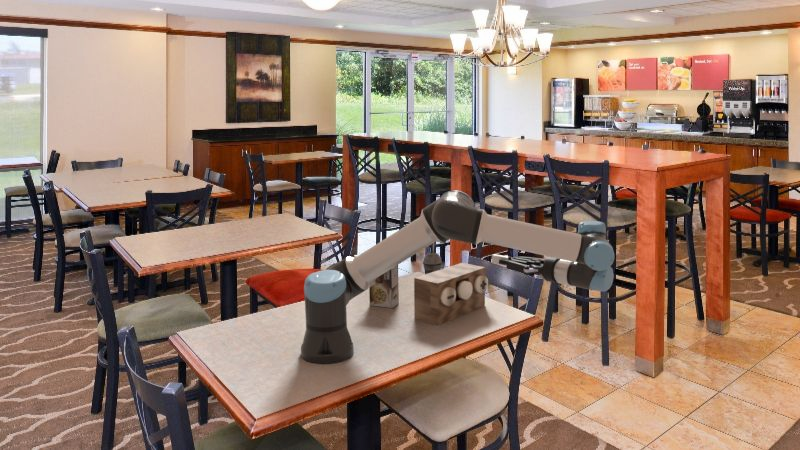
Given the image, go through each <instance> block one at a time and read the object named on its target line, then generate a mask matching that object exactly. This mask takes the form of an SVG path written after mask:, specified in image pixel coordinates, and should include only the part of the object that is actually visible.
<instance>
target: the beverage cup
mask: <svg viewBox="0 0 800 450" xmlns="http://www.w3.org/2000/svg"><path fill="white" fill-rule="evenodd" d="M422 260H423V262H422V264H423V268H424V275H425V274H428V273H431V272H434V271H438V270H441V269H442V267H443V265H442V264H443V261H442V257H441V256H440V254H438V252H435V242H434V243H432V251H430V252H427V253H426V254H425V255H424V257H423V259H422Z"/></svg>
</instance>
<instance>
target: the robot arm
mask: <svg viewBox="0 0 800 450" xmlns="http://www.w3.org/2000/svg"><path fill="white" fill-rule="evenodd" d="M577 228H578V229H577V232H571V231H567V230H563V229H562V230H561V229H557V228H553V227H548V226H544V225H539V224H534V223H529V222H524V221H521V220H515V219H512V218H507V217H501V216H497V215H492V214H488V213H487V211H486V210H485V209H483V208H478V207H476V205H475V202H474V201H473V199H472V197H470V196H469V195H468V194H467V193H465V191H464V192H463V191H461V190H449V191H446V192H444V193H443V194H442V195H440V197H439V198H438V199H436V200H434V201H433V202H432V203H430V204H429V205H427V206H426V207H424V208H422V209H421V213H420V216H419V217H418V218H416V219H414V220H413V221H411V222H410V223H408V224H406V225H405V226H403V227H401V228H400V229H399V230H397V231H395V232H394V233H392V234H390V235H389V236H388V237H386V238H384V239H382V240H381V241H379V242H378V243H376V244H375V245H373V246H371V247H370V248H368V249H367V250H365V251H364V252H362V253H360V254H358V255H357V256H355V257H354V256H350V255H349V256H346V257H344V258H343V259H342V260H339V261H338V262H335V263H332V264H330V265H329V266H328V267H326V268H325V269H323V270H322V269H321V270H317V271H314V272H311V273H310V274H308V276H307V275H306V276H307V277H306V278H305V280H304V286H303V293H304V309H305V310H304V311H305V332H304V336H303V341H302V343H301V346H300V355H301V356H300V357H301V358H302V359H303V360H305V361H307V362H309V363H314V364H333V363H334V364H335V363H339V362H344V361H346V360H347V359H349V358H351V357H352V356H353V355H354V353H355V352H354V351H355V350H354V349H355V348H354V343H353V341H352V337H351V335H350V332H349V330H348V321H347V316H348V315H347V306H348V304H349V303H350V301H351V300H352V299H354V298H355V297H357V296H359V295H361V294H362V293H364V292H365V291H367V290H369V284H370V282H371V281H372V280H374V279H375V278H377V277H379V276H380V275H382V274H384V273H385V272H387V271H388V270H390V269H392V268H393V267H395V266H397V265H398V266H399V265H400V264H402V263H403V262H405V261H406V260H408V259H410V258H411V257H413V256H414V255H416V254H418V253H420V252H422V251H423V250H424V249H426V248H428V247H429V246H431V245H433V243H434V244H435V243H440V244H443V243H446V242H447V241H449V240H452V241H457V242H461V243H468V244H471V245H478V244H479V243H485V244H489V245H495V246H501V247H503V248H510V249H513V250H518V251H523V252H527V253H532V254H536V255H541V256H545V257H546V258H541V257H531V256H520V255H519V256H513V257H512V256H511V255H510V256H509V255H508V256H507V255H501V254H497V253H494V254H491V264H493V265H494V264H495V265H500V266H505V267H506V269H507V270H511V271H514V272H518V273H520V274H523V275H524V276H525V275H526V276H529V275H530V274H534V275H535V276H539V275H541V277H543V280H545V281H546V282H549V283H555V284H561V285H564V286H566V287H568V288H569V287H570V286H572V287H575V288H580V289H581V288H582V289H585V290H590V291H596V292H607V291H608V290H610V289H611V287H612V286H613V282H614V277H615V276H614V269H613V267H612V265H613V263H614V261H615V252H614V248H613V246H612V245H611V243H610V242H609V241H608V240H607V238H606V237H607V236H606V235H607V231H606V230H607V229H606V223H604V222H603V221H598V220H584V221H581V222H579V223H578V227H577Z"/></svg>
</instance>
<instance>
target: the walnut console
mask: <svg viewBox="0 0 800 450" xmlns="http://www.w3.org/2000/svg"><path fill="white" fill-rule="evenodd" d="M413 279H414V280H413V288H414V290H413V291H414V292H413V293H414V294H413V295H414V299H413V300H414V303H413V304H414V309H413V310H414V317H413V318H414V319H416V320H418V321H422V322H425V323H429V324H432V325H436V326H439V325H441V324H444V323H447V322H449V321H451V320H453V319H456V318H458V317H461V316H464V315H467V314H468V313H470V312H473V311H476V310H478V309H481V308H483V307H485V305H486V291H487V290H488V286H489V279H488V277H487V276H486V267H485V266H481V265H475V264H471V263H466V262H460V263H456V264H455V265H451V266H447V267H444V268H441V270H438V271H434V272H431V273H428V274H425V273H424V274H422V275H420V276H416V277H414V278H413ZM461 281H468V282H470V283H471V284H472V287H473V290H472V294H471V296H470V297H469V298H468V299H466V300H465V299H461V298H459V297H458V295H457V287H458V285H459V283H460V282H461Z"/></svg>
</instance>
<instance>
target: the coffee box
mask: <svg viewBox="0 0 800 450" xmlns="http://www.w3.org/2000/svg"><path fill="white" fill-rule="evenodd" d="M368 291H369V295H368V296H369V306H372V307H379V308H380V307H381V308H388V309H389V308H390V309H391V308H394V307H395V306H397V305H398V304H399V303H400V301H399V300H400V297H399V264H398V265H397V266H395V267H393V268H392V269H390V270H388V271H387V272H385V273H384V274H382V275H380V276H379V277H377V278H375V279H374V280H372V281H371V282H370V284H369V288H368Z"/></svg>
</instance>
